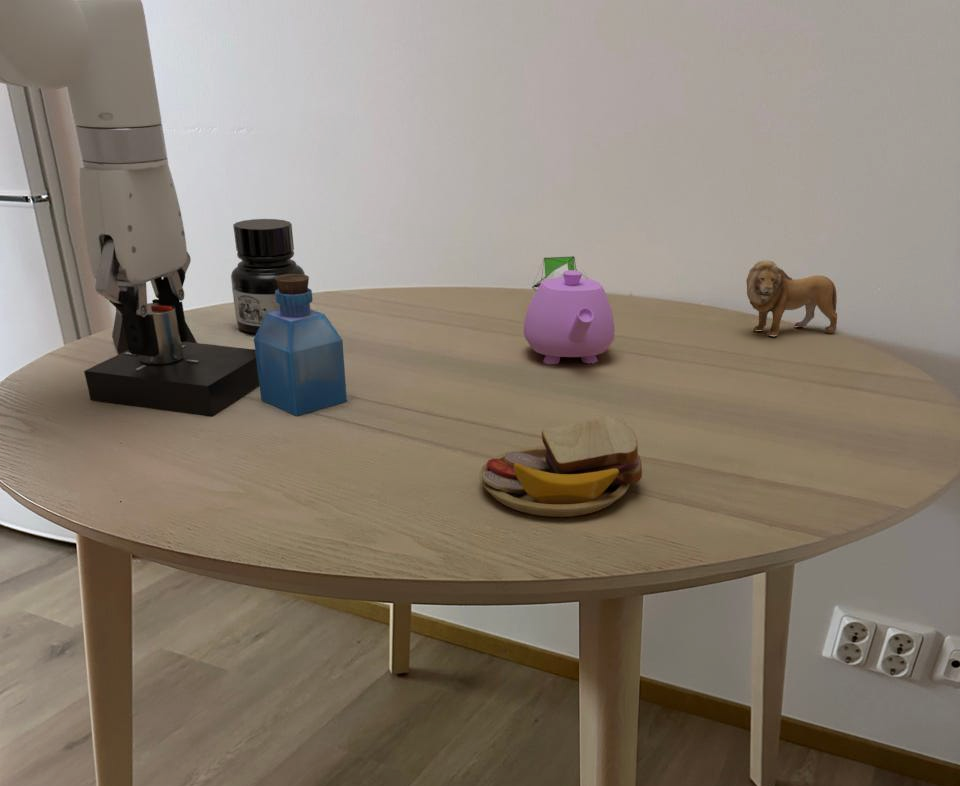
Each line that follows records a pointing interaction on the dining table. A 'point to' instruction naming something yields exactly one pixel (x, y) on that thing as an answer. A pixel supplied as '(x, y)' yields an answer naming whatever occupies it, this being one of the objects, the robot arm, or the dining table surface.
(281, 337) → the perfume bottle
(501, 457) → the toy sandwich meal
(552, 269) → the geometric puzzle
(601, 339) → the teapot
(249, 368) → the hob
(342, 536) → the dining table surface
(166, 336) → the knob
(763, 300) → the lion figurine
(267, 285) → the ink bottle
